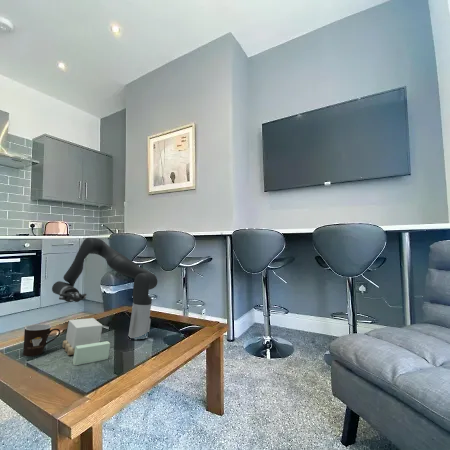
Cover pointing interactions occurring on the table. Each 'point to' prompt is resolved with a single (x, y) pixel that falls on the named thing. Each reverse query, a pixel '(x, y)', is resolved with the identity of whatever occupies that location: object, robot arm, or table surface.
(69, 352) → the roller front
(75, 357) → the block
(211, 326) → the table surface
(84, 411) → the table surface
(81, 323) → the white stacked block
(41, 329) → the coffee mug
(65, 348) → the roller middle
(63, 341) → the roller rear
